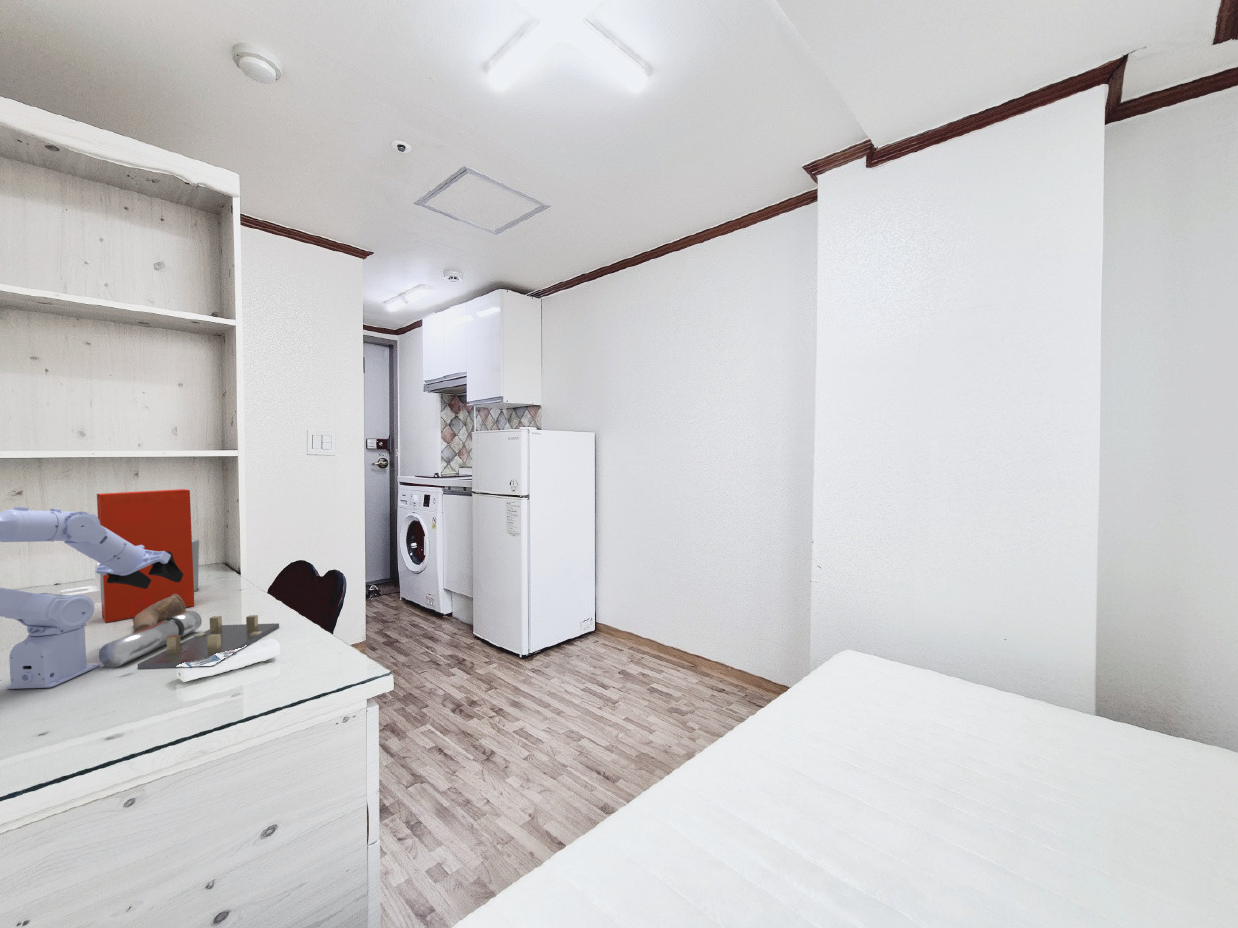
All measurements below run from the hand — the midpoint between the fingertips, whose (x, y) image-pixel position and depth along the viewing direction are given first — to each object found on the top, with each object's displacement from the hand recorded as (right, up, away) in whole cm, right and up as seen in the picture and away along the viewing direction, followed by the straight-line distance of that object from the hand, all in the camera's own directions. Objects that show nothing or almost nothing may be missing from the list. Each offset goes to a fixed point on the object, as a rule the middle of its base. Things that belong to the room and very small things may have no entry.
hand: (164, 581), depth 117 cm
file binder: (-22, -13, +20) cm, 32 cm away
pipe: (-9, -13, +9) cm, 18 cm away
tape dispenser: (-47, -13, +34) cm, 59 cm away
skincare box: (-29, -12, +38) cm, 49 cm away
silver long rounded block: (+3, -13, -5) cm, 15 cm away
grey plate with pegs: (+15, -13, -5) cm, 21 cm away
